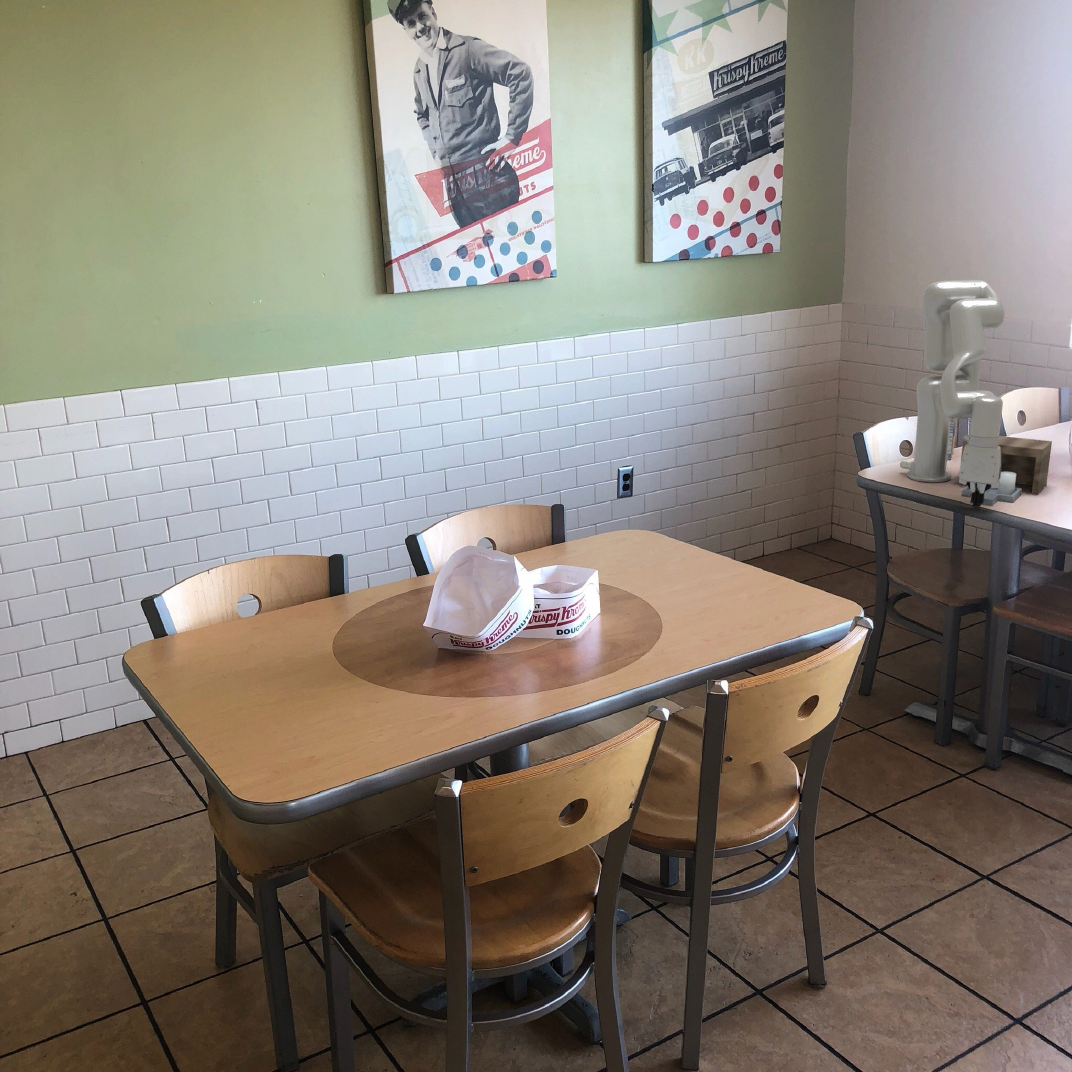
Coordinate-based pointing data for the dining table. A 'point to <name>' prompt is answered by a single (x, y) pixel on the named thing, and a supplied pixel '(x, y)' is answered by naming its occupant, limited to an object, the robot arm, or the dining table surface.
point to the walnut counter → (1024, 460)
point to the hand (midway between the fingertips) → (976, 505)
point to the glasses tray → (994, 491)
